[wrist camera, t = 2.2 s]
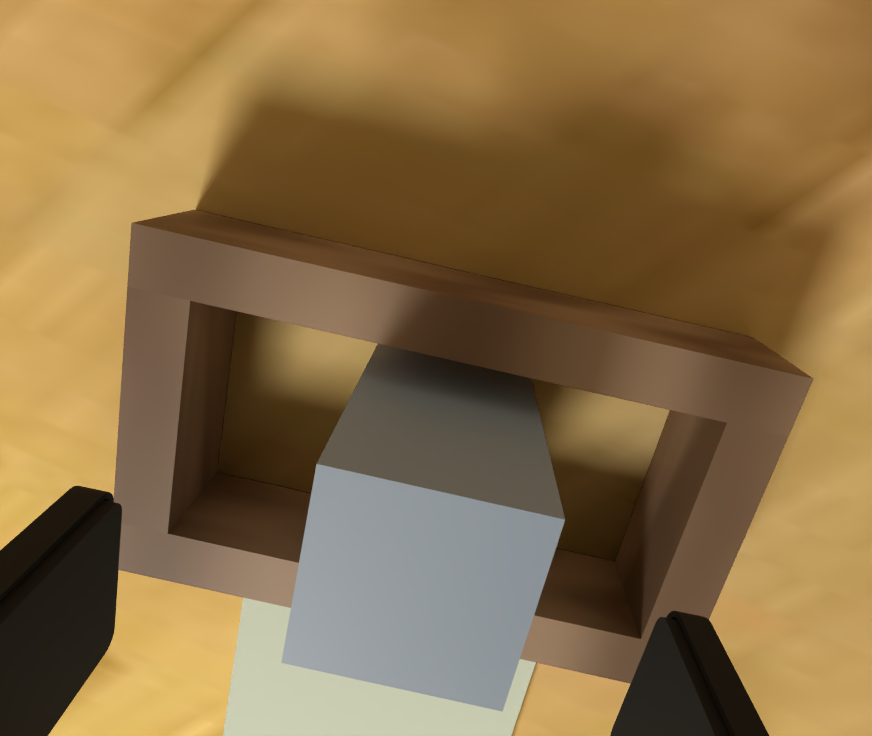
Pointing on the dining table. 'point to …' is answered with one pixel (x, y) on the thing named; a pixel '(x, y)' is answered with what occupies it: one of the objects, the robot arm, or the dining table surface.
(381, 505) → the gray block
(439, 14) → the dining table surface
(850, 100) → the dining table surface
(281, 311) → the pocket
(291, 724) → the mat
